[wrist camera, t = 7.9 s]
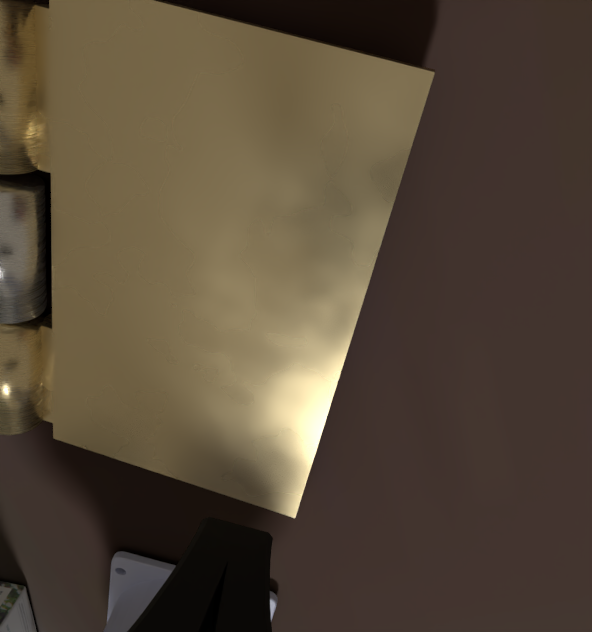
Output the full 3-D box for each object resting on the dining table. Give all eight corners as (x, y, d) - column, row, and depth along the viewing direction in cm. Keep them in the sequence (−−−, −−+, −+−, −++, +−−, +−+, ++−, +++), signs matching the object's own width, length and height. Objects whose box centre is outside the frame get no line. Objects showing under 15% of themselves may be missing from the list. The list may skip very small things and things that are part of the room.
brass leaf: (8, 405, 23) (-31, 439, 21) (-20, -47, 15) (-85, -57, 13) (300, 500, 22) (287, 546, 20) (434, 69, 14) (435, 76, 12)
